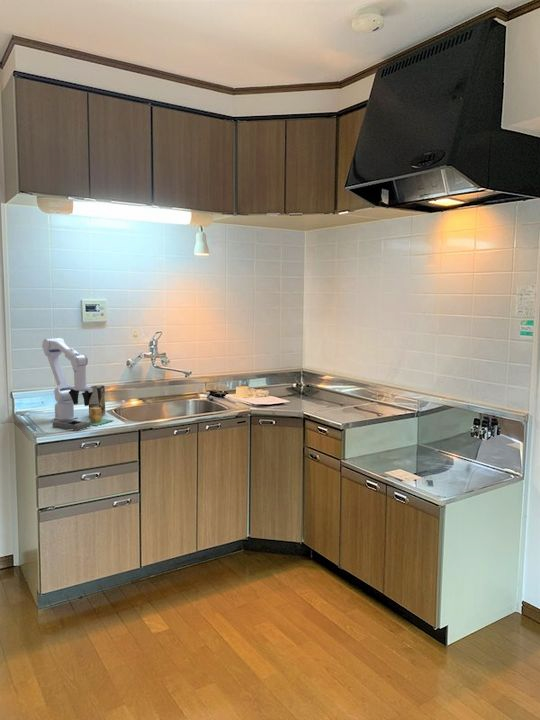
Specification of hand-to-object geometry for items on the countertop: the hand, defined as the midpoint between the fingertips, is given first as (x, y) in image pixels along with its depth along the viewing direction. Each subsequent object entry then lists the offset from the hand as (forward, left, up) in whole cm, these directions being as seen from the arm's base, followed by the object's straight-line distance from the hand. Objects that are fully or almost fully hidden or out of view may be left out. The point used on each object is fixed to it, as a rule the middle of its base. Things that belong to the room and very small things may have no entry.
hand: (81, 404), depth 281 cm
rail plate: (+2, -9, -9) cm, 13 cm away
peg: (+6, +4, -9) cm, 11 cm away
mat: (+6, +4, -9) cm, 12 cm away
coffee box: (-5, +16, -10) cm, 19 cm away
